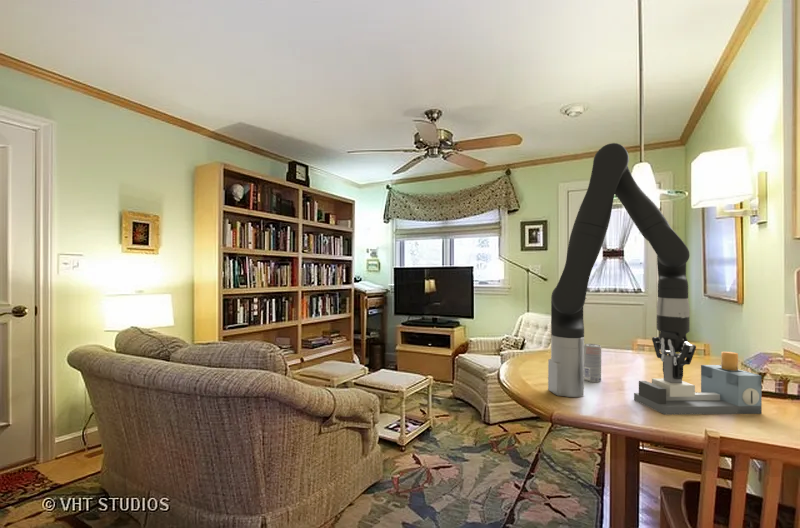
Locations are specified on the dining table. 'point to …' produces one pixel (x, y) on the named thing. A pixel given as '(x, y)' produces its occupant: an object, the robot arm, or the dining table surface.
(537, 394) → the dining table surface
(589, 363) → the energy drink
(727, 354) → the button
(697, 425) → the dining table surface
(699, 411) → the rail track
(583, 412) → the dining table surface
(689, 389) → the carriage
